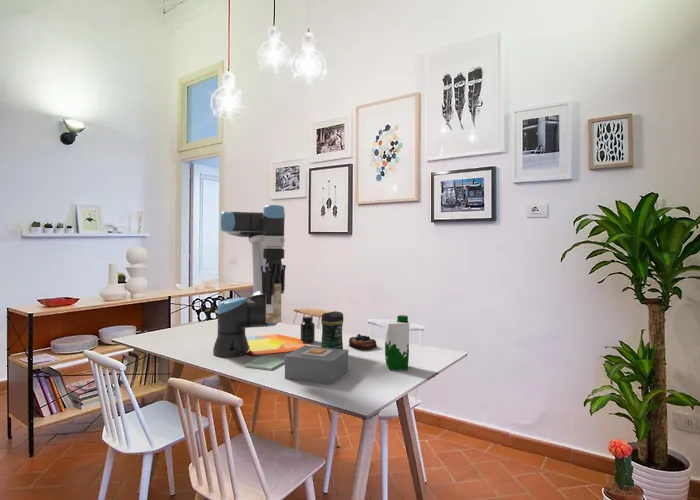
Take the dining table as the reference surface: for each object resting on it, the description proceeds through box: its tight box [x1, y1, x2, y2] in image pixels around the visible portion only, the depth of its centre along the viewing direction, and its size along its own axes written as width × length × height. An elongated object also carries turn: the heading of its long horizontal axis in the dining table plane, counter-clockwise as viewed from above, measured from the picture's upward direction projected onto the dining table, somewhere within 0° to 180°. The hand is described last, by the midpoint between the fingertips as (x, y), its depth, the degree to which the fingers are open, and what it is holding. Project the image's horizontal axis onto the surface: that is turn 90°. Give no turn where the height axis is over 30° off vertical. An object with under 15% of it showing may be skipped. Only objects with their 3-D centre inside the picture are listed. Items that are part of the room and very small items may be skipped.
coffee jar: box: [320, 310, 344, 349], centre depth 174 cm, size 10×8×19 cm
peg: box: [266, 283, 282, 325], centre depth 147 cm, size 4×4×14 cm
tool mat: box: [243, 356, 285, 371], centre depth 160 cm, size 12×12×1 cm
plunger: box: [309, 348, 326, 354], centre depth 148 cm, size 4×4×5 cm
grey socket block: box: [284, 344, 349, 386], centre depth 148 cm, size 18×16×8 cm
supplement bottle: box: [300, 316, 316, 344], centre depth 197 cm, size 7×7×12 cm
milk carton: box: [384, 314, 410, 371], centre depth 157 cm, size 9×9×20 cm
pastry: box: [348, 333, 378, 351], centre depth 188 cm, size 11×12×6 cm
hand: (273, 312), depth 148 cm, fingers closed on peg, 4 cm apart
